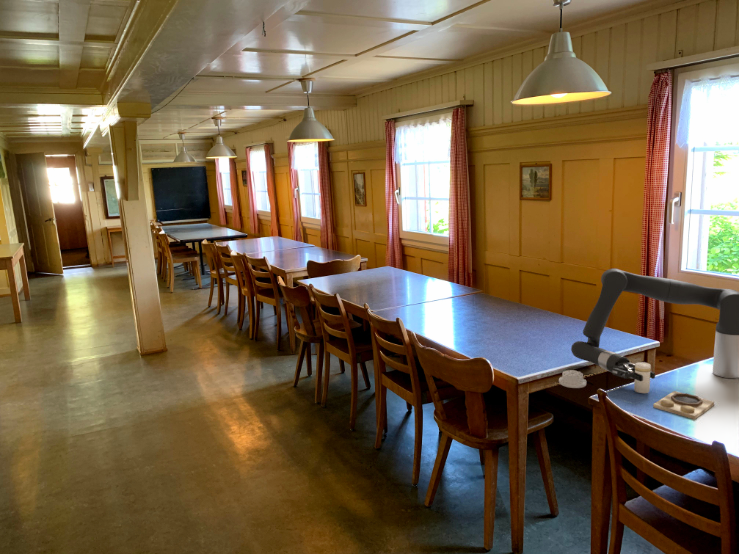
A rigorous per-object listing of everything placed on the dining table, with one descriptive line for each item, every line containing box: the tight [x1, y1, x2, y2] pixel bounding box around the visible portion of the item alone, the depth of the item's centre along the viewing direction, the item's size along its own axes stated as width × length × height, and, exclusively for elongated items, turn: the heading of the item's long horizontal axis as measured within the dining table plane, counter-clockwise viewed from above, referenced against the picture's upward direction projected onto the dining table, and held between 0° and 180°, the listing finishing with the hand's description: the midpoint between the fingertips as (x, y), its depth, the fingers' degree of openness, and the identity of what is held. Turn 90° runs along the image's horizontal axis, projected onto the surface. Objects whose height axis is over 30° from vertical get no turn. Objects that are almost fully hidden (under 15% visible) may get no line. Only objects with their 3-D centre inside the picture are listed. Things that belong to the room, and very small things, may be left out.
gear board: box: [652, 390, 715, 420], centre depth 183 cm, size 16×13×2 cm
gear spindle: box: [633, 361, 652, 394], centre depth 194 cm, size 5×5×10 cm
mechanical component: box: [558, 369, 587, 389], centre depth 207 cm, size 10×4×10 cm
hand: (648, 377), depth 191 cm, fingers closed on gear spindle, 5 cm apart
